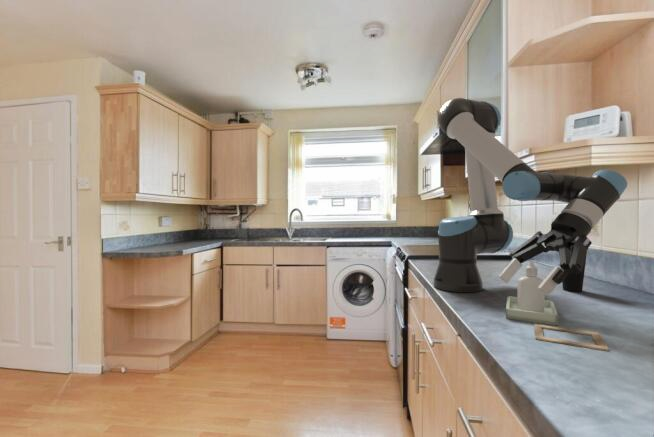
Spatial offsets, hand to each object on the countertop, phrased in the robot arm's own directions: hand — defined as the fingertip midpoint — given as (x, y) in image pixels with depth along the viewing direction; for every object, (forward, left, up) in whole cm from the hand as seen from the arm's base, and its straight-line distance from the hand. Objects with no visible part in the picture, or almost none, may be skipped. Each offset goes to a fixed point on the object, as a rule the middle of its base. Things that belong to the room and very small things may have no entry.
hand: (521, 285), depth 78 cm
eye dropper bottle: (+2, +2, -7) cm, 7 cm away
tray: (+2, +2, -7) cm, 8 cm away
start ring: (+8, -11, -7) cm, 16 cm away
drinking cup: (+14, +35, -7) cm, 38 cm away
